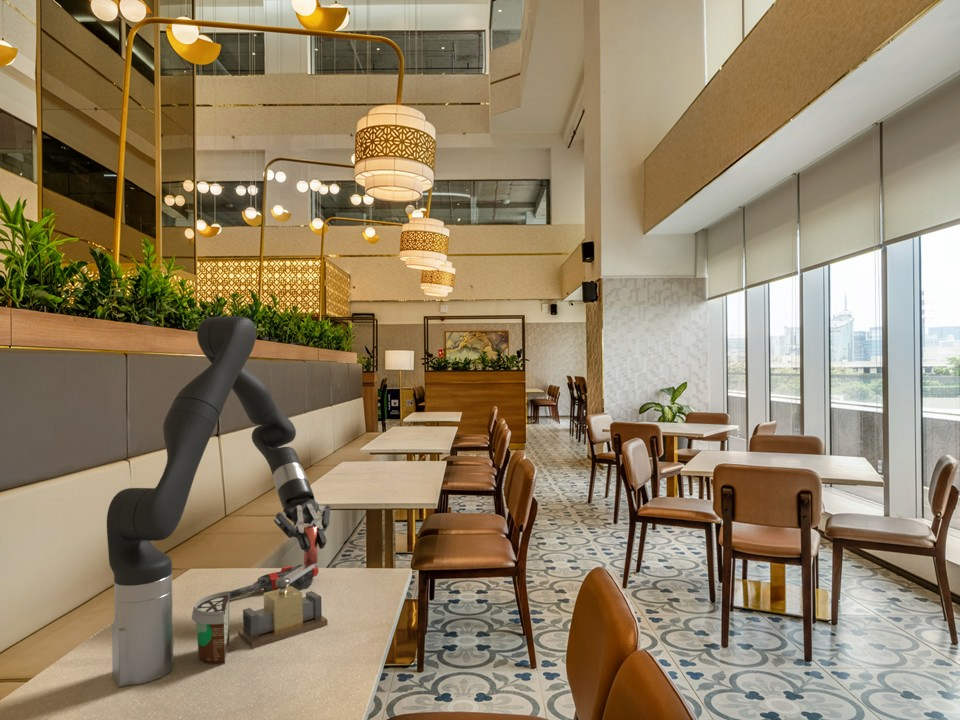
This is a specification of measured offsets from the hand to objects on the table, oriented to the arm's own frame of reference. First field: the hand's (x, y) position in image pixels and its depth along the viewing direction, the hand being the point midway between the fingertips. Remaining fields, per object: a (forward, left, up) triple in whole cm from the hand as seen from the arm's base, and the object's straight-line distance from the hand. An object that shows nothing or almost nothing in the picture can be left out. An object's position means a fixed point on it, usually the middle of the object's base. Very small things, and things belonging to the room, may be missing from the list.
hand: (315, 547), depth 137 cm
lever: (-5, -1, -5) cm, 7 cm away
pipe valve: (-10, -5, -14) cm, 18 cm away
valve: (-2, +23, -15) cm, 28 cm away
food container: (-25, -6, -14) cm, 29 cm away
